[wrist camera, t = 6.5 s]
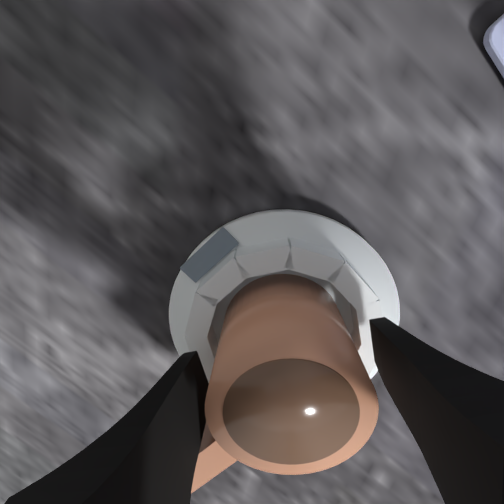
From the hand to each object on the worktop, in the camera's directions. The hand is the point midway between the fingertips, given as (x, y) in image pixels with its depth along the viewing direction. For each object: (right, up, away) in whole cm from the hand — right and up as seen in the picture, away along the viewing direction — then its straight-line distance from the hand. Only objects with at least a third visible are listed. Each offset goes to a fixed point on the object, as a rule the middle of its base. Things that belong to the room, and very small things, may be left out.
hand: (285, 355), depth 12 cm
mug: (-1, 0, +3) cm, 3 cm away
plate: (0, +1, +3) cm, 3 cm away
